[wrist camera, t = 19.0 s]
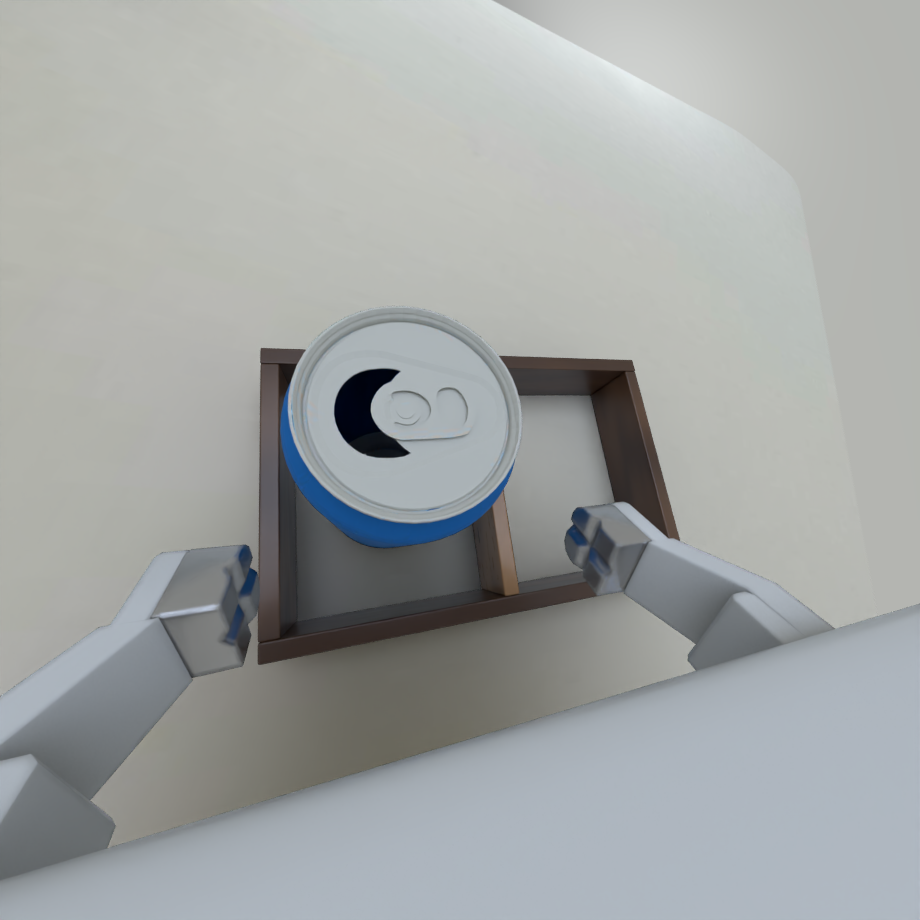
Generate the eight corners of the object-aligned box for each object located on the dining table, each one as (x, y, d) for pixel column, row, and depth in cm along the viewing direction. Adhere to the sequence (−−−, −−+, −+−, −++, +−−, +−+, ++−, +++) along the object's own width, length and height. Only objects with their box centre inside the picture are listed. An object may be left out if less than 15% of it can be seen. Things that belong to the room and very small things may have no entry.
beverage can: (322, 439, 19) (262, 282, 8) (434, 433, 21) (512, 298, 10) (329, 557, 18) (269, 567, 6) (448, 538, 20) (560, 522, 8)
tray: (641, 573, 22) (690, 577, 19) (279, 642, 16) (256, 666, 13) (597, 385, 25) (632, 360, 22) (278, 383, 19) (260, 347, 16)
